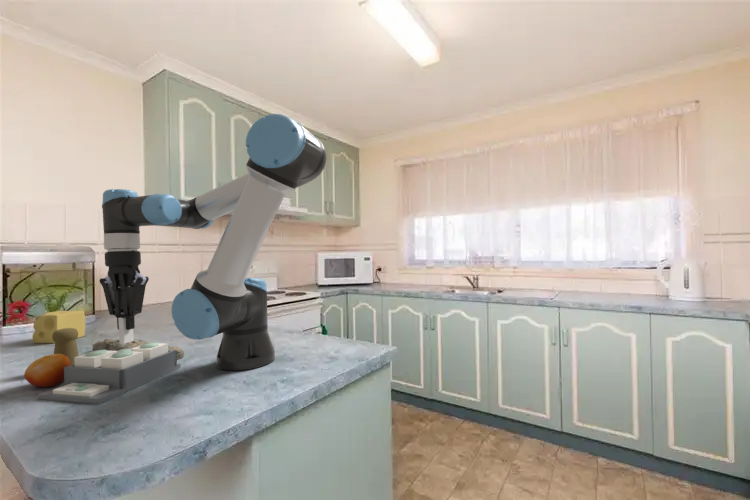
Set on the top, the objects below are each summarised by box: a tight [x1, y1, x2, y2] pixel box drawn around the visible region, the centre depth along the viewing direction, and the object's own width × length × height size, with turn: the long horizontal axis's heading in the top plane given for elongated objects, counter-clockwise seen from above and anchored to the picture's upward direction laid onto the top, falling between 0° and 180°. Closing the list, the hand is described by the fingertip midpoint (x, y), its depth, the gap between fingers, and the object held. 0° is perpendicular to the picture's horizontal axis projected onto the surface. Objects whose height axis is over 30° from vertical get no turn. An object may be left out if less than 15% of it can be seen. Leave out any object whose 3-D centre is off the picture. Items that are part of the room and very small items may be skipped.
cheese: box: [32, 310, 86, 344], centre depth 127 cm, size 10×11×10 cm
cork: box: [52, 328, 80, 365], centre depth 93 cm, size 6×6×11 cm
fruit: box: [23, 353, 71, 388], centre depth 83 cm, size 8×8×8 cm
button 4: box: [131, 342, 169, 359], centre depth 88 cm, size 6×6×3 cm
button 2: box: [101, 351, 143, 369], centre depth 81 cm, size 6×6×3 cm
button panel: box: [37, 348, 182, 405], centre depth 83 cm, size 16×22×5 cm
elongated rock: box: [91, 338, 185, 360], centre depth 106 cm, size 35×5×10 cm
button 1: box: [74, 350, 117, 368], centre depth 82 cm, size 6×6×3 cm
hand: (126, 342), depth 89 cm, fingers closed
